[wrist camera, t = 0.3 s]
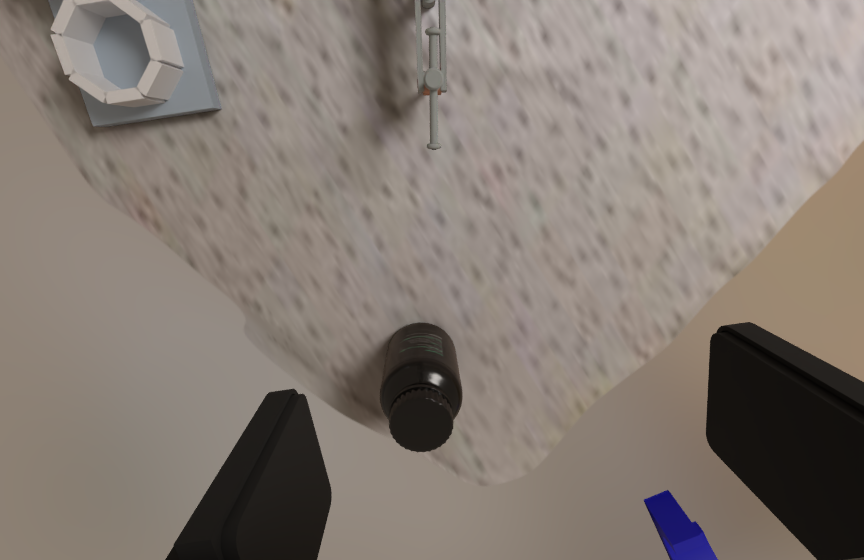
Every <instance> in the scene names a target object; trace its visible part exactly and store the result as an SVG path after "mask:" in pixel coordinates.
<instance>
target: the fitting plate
mask: <svg viewBox="0 0 864 560" xmlns="http://www.w3.org/2000/svg"><path fill="white" fill-rule="evenodd" d="M48 2H49V4H50V7H51V10H52V13H53V16H54V18H55V20H54V23H53V25H52V27H51V30H52V31H54V32H55V33H56V34H52V35H51V38H52V40H53V43H54V46H55V49H56V51H57V54H58V57H59V60H60V63H61V65H62V68H63V71H64V74H65V75H68V76H70V77H69V80H70V81H72V82H73V83H74V84H76V85H77V86H79V89H80V91H81V94H82V97H83V100H84V103H85V105H86V108H87V111H88V114H89V117H90V119H91V122H92V125H93V126H98V127H109V126H116V125H122V124H129V123H135V122H142V121H148V120H155V119H161V118H168V117H174V116H181V115H187V114H194V113H200V112H207V111H213V110H220V109H222V108H221V104H220V101H219V97H218V93H217V89H216V86H215V82H214V78H213V75H212V71H211V67H210V63H209V60H208V56H207V52H206V49H205V45H204V41H203V38H202V34H201V30H200V26H199V23H198V19H197V15H196V12H195V8H194V4H193V0H48Z"/></svg>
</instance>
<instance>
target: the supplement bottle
mask: <svg viewBox="0 0 864 560" xmlns="http://www.w3.org/2000/svg"><path fill="white" fill-rule="evenodd" d="M380 403H381V407H382V410H383V412H384V414H385V416H386V417H387V419H388V420H389V428H390V432H391V434H392V435H393V438H394V439H395V440H396V442H397V443H399V444H400V446H402V447H404V448H405V449H409V450H411V451H416V452H426V451H431V450H434V449H436V448H437V447H441V445H442V444H444V443H445V442H446V440H448V439H449V436H450V435H451V434H452V429H453V420H454V419H455V417H456V416H457V414H458V412H459V410H460V408H461V404H462V386H461V380H460V374H459V368H458V362H457V356H456V351H455V347H454V344H453V342H452V340H451V338H450V336H449V335H448V334H447V333H446V332H445V331H444V330H442V329H441V328H439V327H438V326H435V325H433V324H429V323H414V324H410V325H407V326H405V327H403V328H402V329H400V330H399V331H398V332H397V333H396V334H395V335H394V336H393V337H392V339H391V341H390V343H389V346H388V349H387V354H386V360H385V366H384V372H383V378H382V384H381V390H380Z"/></svg>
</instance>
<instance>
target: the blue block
mask: <svg viewBox="0 0 864 560" xmlns="http://www.w3.org/2000/svg"><path fill="white" fill-rule="evenodd" d="M644 502H645V505H646V507H647V509H648V511H649V513H650V516H651V518H652V520H653V522H654V525H655V526H656V529H657V531H658V533H659V536H660V538H661V540H662V542H663V544H664V547H665V549H666V551H667V553H668V556H669V558H670V560H718V559H717V557H716V556H715V554H714V552H713V550H712V548H711V547H710V545H709V543H708V541H707V539H706V537H705V534H704V532H703V531H702V529H701V528H700V527H699V525H698V524H697V523H696V521H694V522H691V521H690V519H689V518H688V517H687V515H686V514H685V512H684V511H683V510H682V508H681V507H680V506H679V504H678V503H677V502H676V500H675V499H674V497H673V496H672V495H671V493H670V492H669V490H666V491H664V492H661V493H659V494H656V495H654V496H651V497H649V498H647V499H644Z"/></svg>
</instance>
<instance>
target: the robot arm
mask: <svg viewBox="0 0 864 560" xmlns="http://www.w3.org/2000/svg"><path fill="white" fill-rule="evenodd" d="M706 437H707V441H708V443H709V445H710V447H711V449H712V450H713V451H714V452H715V453H716V454H717V456H718V457H720V458H721V460H722V461H723V462H724V463H725V464H726V465H727V466H728V467H729V468H730V469H731V470H732V471H733V472H734V473H735V474H736V475H737V476H738V477H739V478H740V479H741V481H742V482H743V483H744V484H745V485H746V486H747V487H748V488H749V489H750V490H751V491H752V492H753V493H754V494H755V495H756V496H757V497H758V498H759V499H760V500H761V501H762V502H763V503H764V505H766V507H767V508H768V509H769V510H770V511H771V512H772V513H773V514H774V515H775V516H776V517H777V518H778V519H779V520H780V521H781V522H782V523H783V524H784V525H785V526H786V527H787V528H788V530H789V531H790V532H791V533H792V534H793V535H794V536H795V537H796V538H797V539H798V540H799V541H800V542H801V543H802V544H803V545H804V546H805V547H806V548H807V549H808V550H809V551H810V552H811V554H812V555H813V556H814V557H816V559H817V560H864V382H862V381H860V380H858V379H857V378H855V377H853V376H851V375H849V374H847V373H845V372H843V371H841V370H840V369H838V368H836V367H834V366H832V365H830V364H828V363H827V362H824V361H823V360H821V359H819V358H817V357H815V356H813V355H811V354H810V353H808V352H806V351H804V350H802V349H800V348H798V347H796V346H794V345H793V344H791V343H789V342H787V341H785V340H783V339H781V338H780V337H778V336H776V335H774V334H772V333H770V332H768V331H766V330H764V329H762V328H761V327H759V326H757V325H755V324H753V323H750V322H747V323H739V324H732V325H725V326H721V327H720V328H719V329H718V330H717V333H715V334H713V335H712V337H711V340H710V359H709V380H708V401H707V423H706ZM330 505H331V487H330V483H329V479H328V476H327V472H326V468H325V465H324V461H323V457H322V454H321V450H320V446H319V442H318V439H317V435H316V432H315V428H314V424H313V420H312V417H311V414H310V410H309V406H308V402H307V399H306V396H305V395H304V394H298V393H297V391H296V390H295V389H289V390H282V391H275V392H269V393H268V394H267V395H266V397H265V398H264V400H263V402H262V403H261V405H260V406H259V408H258V410H257V411H256V413H255V414H254V416H253V418H252V419H251V421H250V423H249V424H248V426H247V427H246V429H245V431H244V432H243V434H242V436H241V437H240V439H239V440H238V442H237V444H236V445H235V447H234V448H233V450H232V452H231V453H230V455H229V457H228V458H227V460H226V461H225V463H224V465H223V466H222V468H221V469H220V471H219V472H218V474H217V476H216V477H215V479H214V480H213V482H212V484H211V485H210V487H209V489H208V490H207V492H206V494H205V495H204V497H203V498H202V500H201V502H200V503H199V505H198V506H197V508H196V509H195V511H194V513H193V514H192V516H191V518H190V519H189V521H188V522H187V524H186V526H185V527H184V529H183V531H182V532H181V534H180V535H179V537H178V539H177V540H176V542H175V543H174V547H173V548H172V550H171V551H170V553H169V555H168V556H167V558H166V559H165V560H317V557H318V553H319V549H320V545H321V541H322V537H323V533H324V529H325V525H326V521H327V517H328V513H329V509H330Z"/></svg>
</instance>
